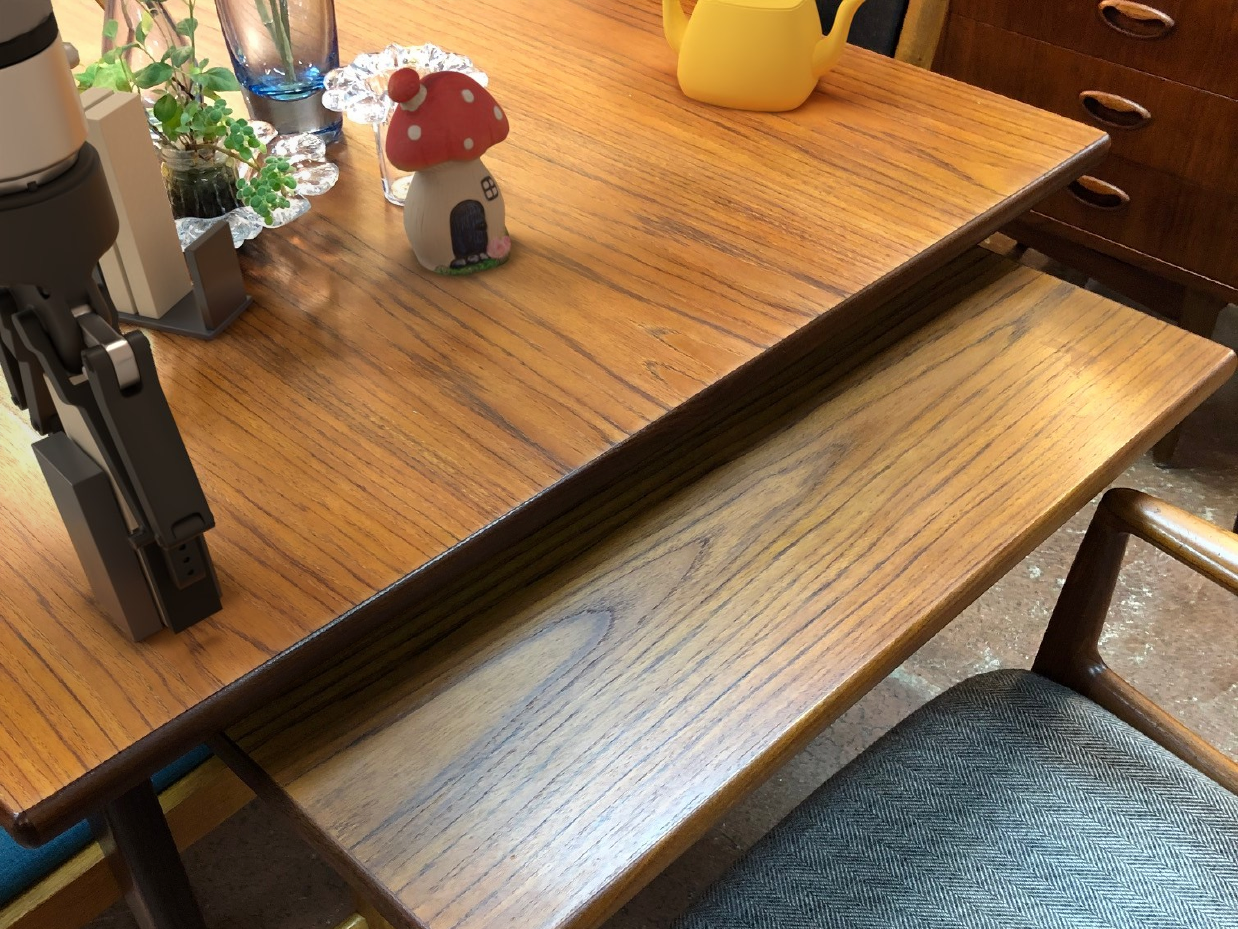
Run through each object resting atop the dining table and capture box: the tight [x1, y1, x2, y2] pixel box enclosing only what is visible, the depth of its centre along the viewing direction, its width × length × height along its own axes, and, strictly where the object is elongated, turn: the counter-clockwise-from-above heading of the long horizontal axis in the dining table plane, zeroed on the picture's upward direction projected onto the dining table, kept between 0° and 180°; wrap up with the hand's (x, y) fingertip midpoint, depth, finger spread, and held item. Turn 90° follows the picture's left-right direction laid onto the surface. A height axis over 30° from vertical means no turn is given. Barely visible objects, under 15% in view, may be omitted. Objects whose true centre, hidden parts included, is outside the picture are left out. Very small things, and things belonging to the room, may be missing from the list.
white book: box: [43, 373, 168, 628], centre depth 60 cm, size 2×5×14 cm, turn 44°
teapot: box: [661, 0, 866, 113], centre depth 113 cm, size 22×16×11 cm
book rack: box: [92, 219, 254, 342], centre depth 83 cm, size 9×6×7 cm, turn 72°
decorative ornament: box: [384, 67, 512, 276], centre depth 87 cm, size 9×7×15 cm
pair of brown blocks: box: [30, 431, 224, 643], centre depth 61 cm, size 5×4×11 cm
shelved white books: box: [79, 86, 193, 319], centre depth 81 cm, size 4×4×14 cm
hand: (150, 572), depth 63 cm, fingers open, 9 cm apart
